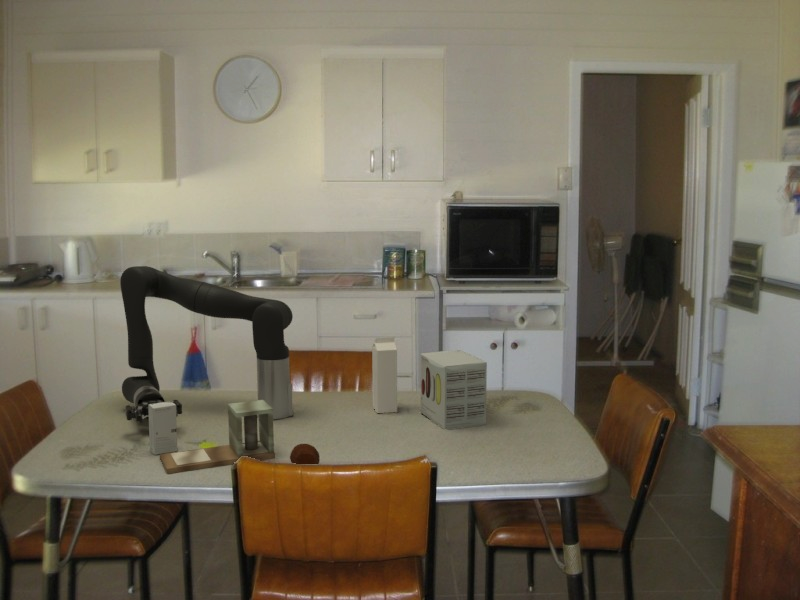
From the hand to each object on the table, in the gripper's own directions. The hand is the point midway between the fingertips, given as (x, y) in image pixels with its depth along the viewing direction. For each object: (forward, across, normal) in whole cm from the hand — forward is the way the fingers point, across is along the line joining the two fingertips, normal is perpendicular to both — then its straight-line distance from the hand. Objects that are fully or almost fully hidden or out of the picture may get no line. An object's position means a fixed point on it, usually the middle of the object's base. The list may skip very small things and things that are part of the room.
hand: (157, 417), depth 215 cm
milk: (-1, +65, +7) cm, 65 cm away
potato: (+36, +28, +7) cm, 46 cm away
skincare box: (+8, 0, +7) cm, 11 cm away
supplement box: (+15, +79, +7) cm, 81 cm away
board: (+20, +11, +6) cm, 24 cm away
